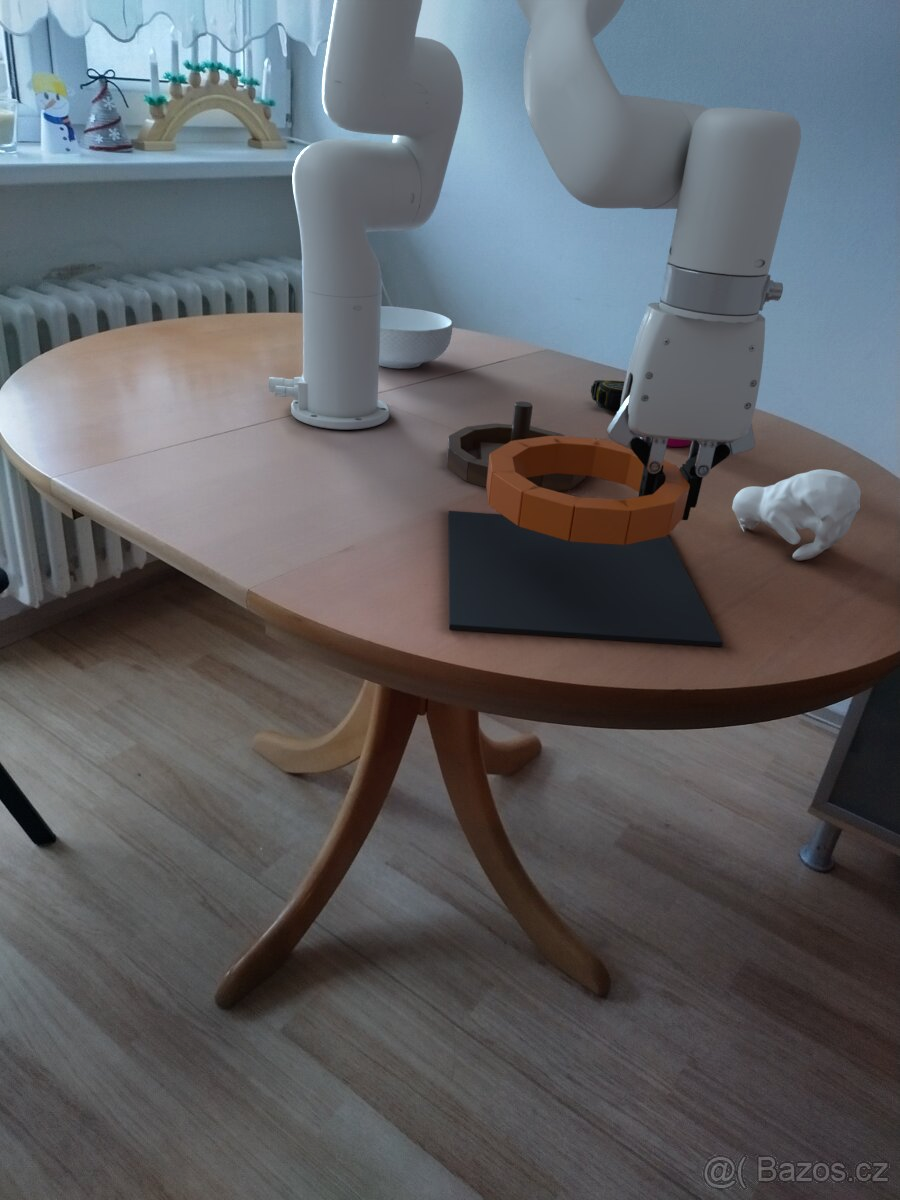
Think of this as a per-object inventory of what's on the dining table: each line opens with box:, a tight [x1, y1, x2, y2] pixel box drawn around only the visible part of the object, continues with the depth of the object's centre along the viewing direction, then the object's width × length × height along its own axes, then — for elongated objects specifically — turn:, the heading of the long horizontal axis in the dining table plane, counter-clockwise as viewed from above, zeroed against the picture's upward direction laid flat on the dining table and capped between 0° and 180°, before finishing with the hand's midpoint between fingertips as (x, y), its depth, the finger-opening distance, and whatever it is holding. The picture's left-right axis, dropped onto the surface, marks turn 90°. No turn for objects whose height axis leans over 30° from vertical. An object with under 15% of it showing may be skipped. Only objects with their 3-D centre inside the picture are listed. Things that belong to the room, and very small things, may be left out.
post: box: [478, 400, 534, 462], centre depth 99 cm, size 8×8×8 cm
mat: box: [447, 510, 724, 648], centre depth 78 cm, size 22×22×1 cm
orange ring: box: [485, 435, 690, 545], centre depth 74 cm, size 17×17×3 cm
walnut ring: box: [446, 422, 587, 492], centre depth 100 cm, size 16×16×2 cm
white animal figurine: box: [731, 468, 862, 561], centre depth 86 cm, size 6×8×12 cm
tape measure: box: [590, 379, 625, 414], centre depth 122 cm, size 7×7×4 cm
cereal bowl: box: [379, 305, 454, 370], centre depth 135 cm, size 17×17×7 cm
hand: (664, 511), depth 75 cm, fingers closed on orange ring, 2 cm apart
